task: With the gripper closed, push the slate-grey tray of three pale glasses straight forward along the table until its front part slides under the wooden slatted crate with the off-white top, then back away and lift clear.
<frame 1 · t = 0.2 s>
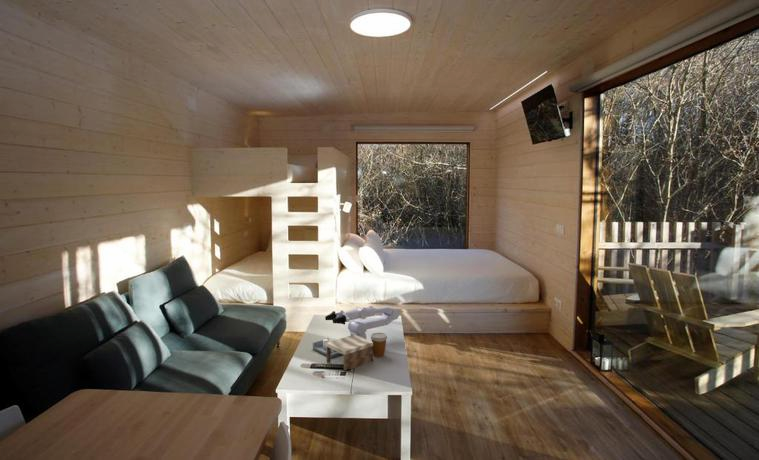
hand: (329, 319, 257), 21 cm above the table, tool horizontal, fingers open, 7 cm apart
tray: (329, 351, 266), on the table
disposable coffee cup: (378, 355, 260), on the table
wooden slatted crate: (349, 361, 251), on the table
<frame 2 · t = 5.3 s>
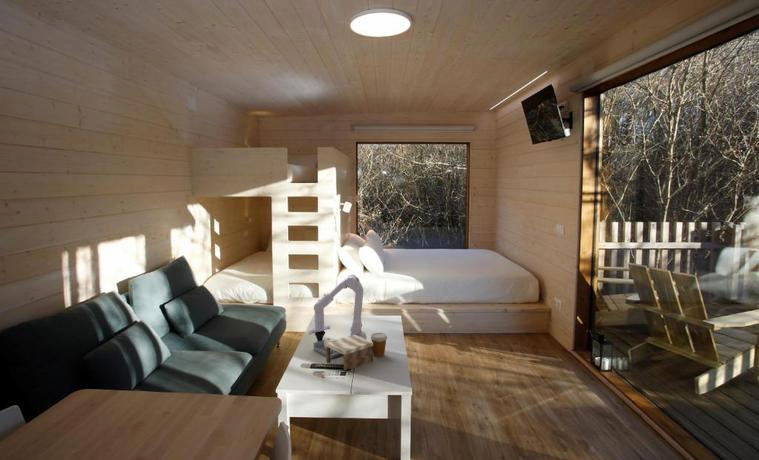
hand: (319, 343, 272), 2 cm above the table, tool pointing down, fingers closed, pressing on tray
tray: (330, 351, 265), on the table, touching gripper
everything else where it was.
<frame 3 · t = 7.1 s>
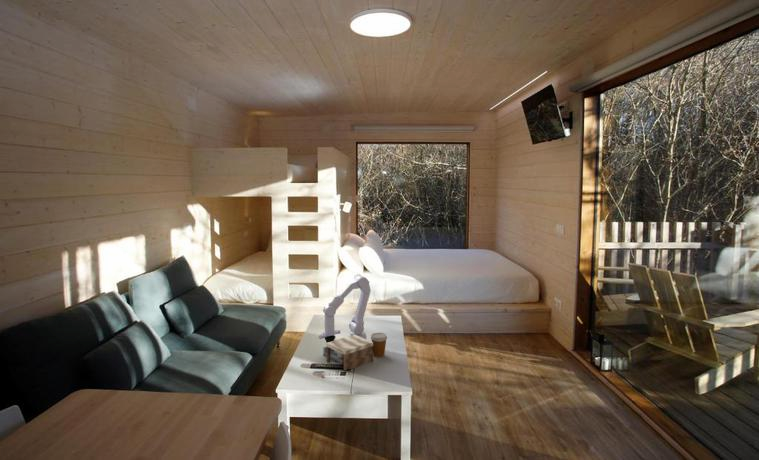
hand: (329, 347, 265), 2 cm above the table, tool pointing down, fingers closed, pressing on tray
tray: (340, 357, 257), on the table, touching gripper
everything else where it was.
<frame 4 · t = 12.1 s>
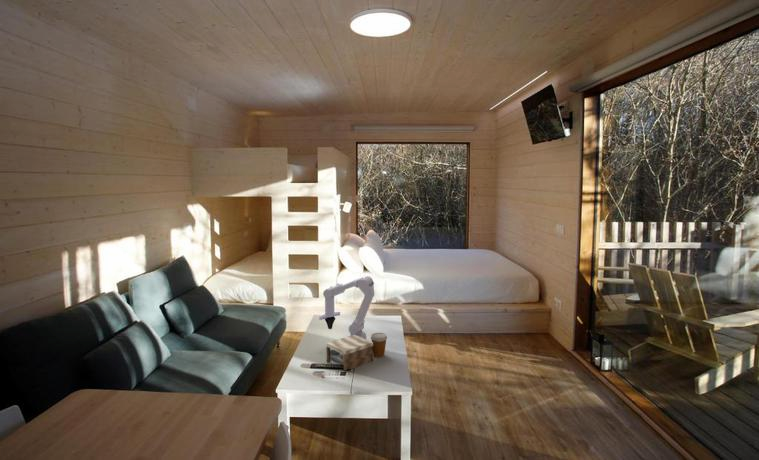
hand: (329, 328, 277), 9 cm above the table, tool pointing down, fingers closed
tray: (346, 359, 253), on the table
everything else where it was.
at the end: tray inside the target area (3.3 cm from its centre), on the table; tray tilted 0°; the gripper is holding nothing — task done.
